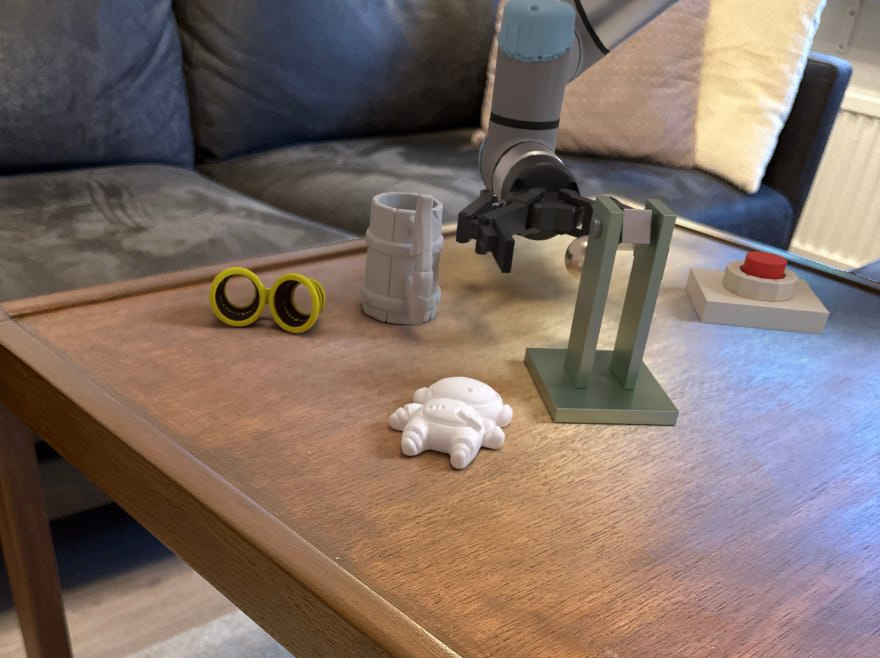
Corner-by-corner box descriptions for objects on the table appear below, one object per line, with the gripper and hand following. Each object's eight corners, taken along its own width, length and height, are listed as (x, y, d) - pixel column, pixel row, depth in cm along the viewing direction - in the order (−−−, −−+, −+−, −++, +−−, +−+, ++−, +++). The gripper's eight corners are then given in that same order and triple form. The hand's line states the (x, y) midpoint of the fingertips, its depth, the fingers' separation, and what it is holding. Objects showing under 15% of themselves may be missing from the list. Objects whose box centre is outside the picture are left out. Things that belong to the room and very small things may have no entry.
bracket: (523, 360, 86) (552, 180, 77) (633, 363, 87) (674, 186, 78) (554, 422, 77) (591, 226, 68) (676, 425, 78) (728, 233, 69)
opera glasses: (325, 327, 91) (328, 270, 88) (317, 337, 86) (320, 277, 84) (222, 316, 91) (222, 259, 89) (208, 325, 86) (208, 265, 84)
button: (776, 271, 100) (782, 253, 99) (786, 284, 97) (791, 266, 96) (737, 267, 100) (742, 249, 99) (745, 280, 97) (750, 262, 96)
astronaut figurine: (367, 447, 71) (369, 409, 69) (429, 388, 80) (432, 352, 78) (479, 478, 69) (485, 439, 67) (530, 413, 78) (537, 377, 76)
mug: (427, 295, 97) (439, 164, 90) (460, 343, 88) (477, 202, 81) (351, 296, 95) (357, 162, 88) (378, 344, 86) (387, 201, 79)
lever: (558, 282, 87) (560, 239, 86) (597, 284, 87) (600, 241, 86) (612, 250, 73) (615, 199, 72) (658, 253, 73) (662, 201, 73)
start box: (797, 299, 105) (809, 261, 102) (821, 334, 97) (836, 294, 94) (685, 288, 105) (694, 250, 102) (700, 322, 97) (711, 282, 94)
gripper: (643, 236, 105) (712, 309, 88) (412, 224, 102) (438, 298, 85) (660, 160, 100) (736, 222, 84) (418, 145, 97) (447, 207, 80)
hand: (585, 260), depth 84 cm, fingers open, 13 cm apart
